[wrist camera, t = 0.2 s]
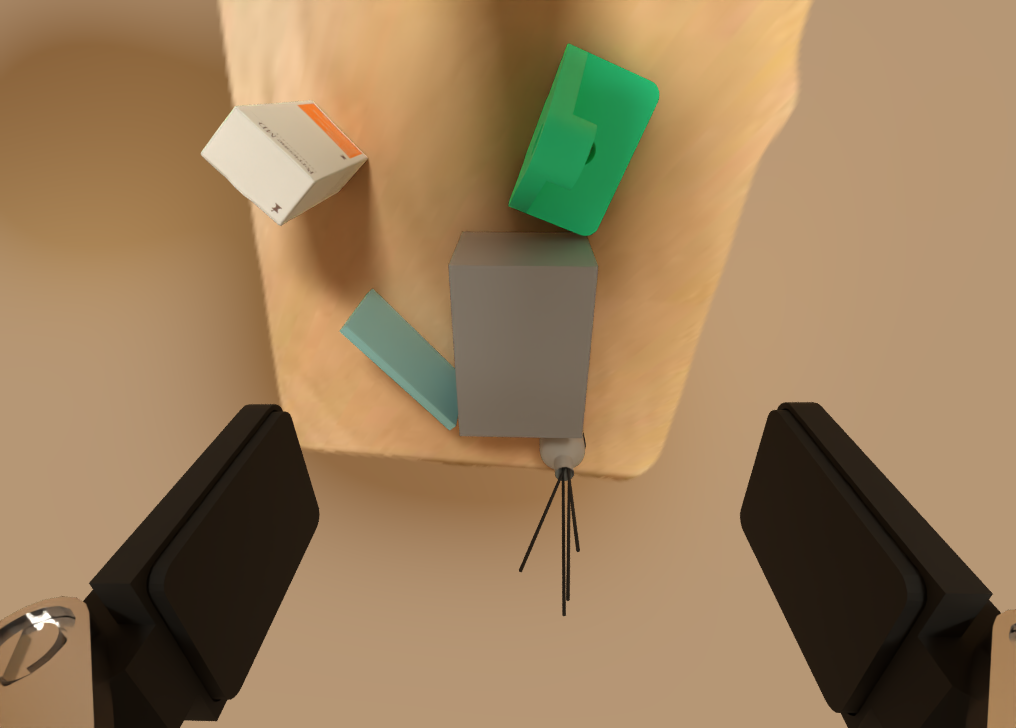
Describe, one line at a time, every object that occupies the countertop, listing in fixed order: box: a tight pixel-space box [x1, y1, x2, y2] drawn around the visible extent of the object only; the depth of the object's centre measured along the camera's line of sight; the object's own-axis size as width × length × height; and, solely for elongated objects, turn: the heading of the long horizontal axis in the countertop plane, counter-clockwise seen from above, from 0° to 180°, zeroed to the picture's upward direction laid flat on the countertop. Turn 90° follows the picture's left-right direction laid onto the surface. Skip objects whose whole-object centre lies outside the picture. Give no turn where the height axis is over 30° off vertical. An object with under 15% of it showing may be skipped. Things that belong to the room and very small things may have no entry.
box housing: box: [448, 232, 598, 438], centre depth 44 cm, size 16×11×9 cm
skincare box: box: [201, 100, 368, 226], centre depth 36 cm, size 6×4×12 cm
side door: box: [340, 289, 458, 430], centre depth 46 cm, size 13×1×8 cm, turn 40°
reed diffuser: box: [519, 433, 586, 616], centre depth 46 cm, size 10×7×20 cm
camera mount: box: [508, 43, 659, 236], centre depth 36 cm, size 12×8×10 cm, turn 159°
